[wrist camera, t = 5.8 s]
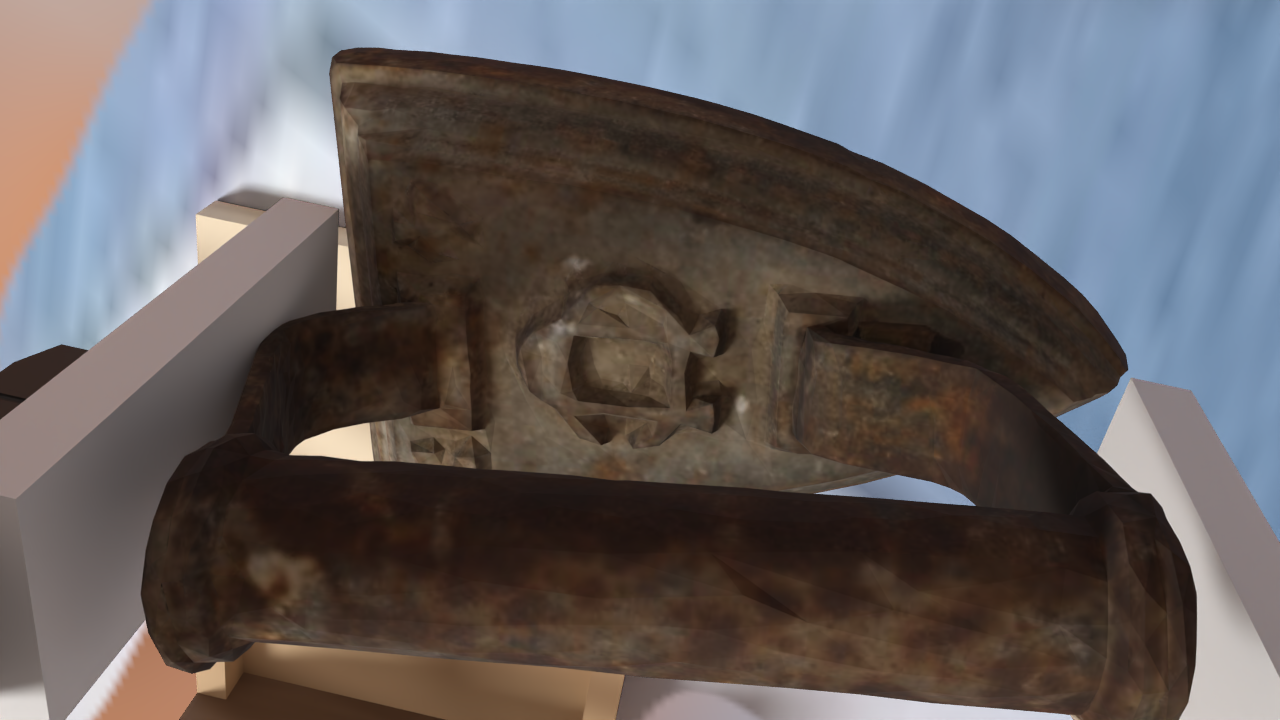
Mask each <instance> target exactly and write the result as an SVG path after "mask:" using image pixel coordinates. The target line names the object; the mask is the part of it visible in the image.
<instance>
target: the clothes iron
mask: <svg viewBox="0 0 1280 720" xmlns="http://www.w3.org/2000/svg"><path fill="white" fill-rule="evenodd" d="M329 75H330V84H331V93H332V102H333V111H334V120H335V130H336V139H337V148H338V157H339V167H340V176H341V185H342V195H343V204H344V214H345V223H346V232H347V240H348V249H349V257H350V266H351V275H352V283H353V292H354V300H355V307H354V308H348V309H341V310H334V311H327V312H320V313H316V314H312V315H309V316H305V317H301V318H298V319H294V320H291V321H288V322H286V323H284V324H282V325H281V326H279V327H278V328H276V329H275V330H274V331H273V332H271V333H270V334H269V335H268V336H267V337H266V338H265V339H264V340H263V341H262V342H261V343H260V345H259V348H258V350H257V352H256V354H255V357H254V360H253V363H252V366H251V369H250V371H249V374H248V377H247V380H246V383H245V385H244V388H243V391H242V394H241V397H240V400H239V403H238V406H237V408H236V411H235V414H234V417H233V420H232V423H231V425H230V427H229V429H228V430H227V432H226V434H225V435H224V436H223V437H221V438H219V439H218V440H216V441H209V442H208V443H207V444H205V445H204V446H202V447H201V448H199V449H198V450H196V451H194V452H192V453H190V454H188V455H186V456H184V458H183V459H182V461H181V462H180V464H179V465H178V467H177V468H176V470H175V471H174V473H173V474H172V476H171V477H170V479H169V480H168V482H167V483H166V486H165V489H164V492H163V494H162V497H161V500H160V502H159V505H158V508H157V510H156V513H155V516H154V519H153V522H152V526H151V530H150V534H149V538H148V542H147V546H146V551H145V560H144V568H143V577H142V585H141V594H140V595H141V600H142V604H143V609H144V614H145V619H146V624H147V628H148V633H149V635H150V637H151V639H152V640H153V642H154V644H155V646H156V648H157V649H158V651H159V653H160V655H161V657H162V659H163V660H164V662H165V664H166V665H167V666H170V667H173V668H176V669H179V670H182V671H185V672H188V673H191V674H193V673H197V672H201V671H205V670H209V669H211V668H212V667H213V666H214V665H215V664H216V662H234V661H235V660H236V659H237V658H239V657H240V656H241V655H242V654H244V653H245V652H246V651H247V650H249V649H250V648H251V647H252V645H253V644H254V643H255V642H260V643H272V644H284V645H296V646H308V647H320V648H333V649H344V650H355V651H366V652H376V653H387V654H398V655H408V656H419V657H429V658H441V659H453V660H466V661H478V662H491V663H505V664H518V665H531V666H545V667H557V668H566V669H575V670H584V671H593V672H602V673H611V674H621V675H630V676H639V677H652V678H666V679H679V680H692V681H706V682H719V683H731V684H744V685H757V686H770V687H783V688H795V689H806V690H817V691H828V692H840V693H851V694H861V695H869V696H878V697H886V698H895V699H903V700H911V701H920V702H928V703H939V704H951V705H963V706H976V707H988V708H1000V709H1012V710H1024V711H1035V712H1047V713H1058V714H1066V715H1071V717H1072V718H1073V720H1179V719H1180V717H1181V715H1182V713H1183V711H1184V710H1185V708H1186V706H1187V704H1188V702H1189V697H1190V692H1191V687H1192V682H1193V677H1194V672H1195V667H1196V649H1197V592H1196V588H1195V584H1194V579H1193V575H1192V571H1191V567H1190V564H1189V562H1188V559H1187V557H1186V555H1185V552H1184V550H1183V547H1182V545H1181V543H1180V541H1179V539H1178V537H1177V536H1176V534H1175V532H1174V531H1173V529H1172V527H1171V525H1170V524H1169V522H1168V520H1167V518H1166V516H1165V513H1164V510H1163V508H1162V506H1161V505H1160V504H1159V503H1158V501H1157V500H1156V499H1155V498H1154V497H1153V495H1152V494H1151V493H1143V492H1138V491H1136V490H1135V489H1133V488H1132V487H1131V486H1130V485H1129V484H1128V483H1127V482H1126V481H1125V480H1124V479H1123V478H1122V477H1121V476H1120V475H1119V474H1118V473H1117V472H1116V471H1115V470H1114V469H1113V468H1112V467H1111V466H1110V465H1109V464H1108V463H1107V462H1106V461H1105V460H1104V459H1103V458H1102V457H1100V456H1099V455H1098V454H1097V453H1096V452H1095V451H1093V450H1092V449H1091V448H1090V447H1089V446H1088V445H1087V444H1085V443H1084V442H1083V441H1082V440H1081V439H1080V438H1079V437H1078V436H1077V435H1075V434H1074V433H1073V432H1072V431H1071V430H1070V429H1069V428H1067V427H1066V426H1065V425H1064V424H1063V423H1062V422H1061V421H1059V420H1058V419H1057V418H1056V417H1058V416H1060V415H1062V414H1064V413H1066V412H1069V411H1071V410H1073V409H1075V408H1078V407H1080V406H1082V405H1084V404H1086V403H1089V402H1091V401H1093V400H1095V399H1097V398H1100V397H1101V396H1103V395H1105V394H1107V393H1109V392H1110V391H1111V390H1112V389H1114V388H1115V387H1116V386H1117V385H1118V382H1119V379H1120V377H1121V376H1122V375H1123V374H1124V373H1125V372H1126V371H1127V370H1128V365H1127V359H1126V354H1125V353H1124V351H1123V349H1122V348H1121V346H1120V344H1119V343H1118V341H1117V339H1116V338H1115V336H1114V335H1113V334H1112V332H1111V331H1110V329H1109V328H1108V326H1107V325H1106V323H1105V322H1104V320H1103V319H1102V318H1101V316H1100V315H1099V313H1098V312H1097V311H1096V309H1095V308H1094V307H1093V306H1092V305H1091V304H1090V303H1089V301H1088V300H1087V299H1086V298H1085V297H1084V296H1083V295H1082V294H1081V293H1080V292H1079V291H1078V290H1077V289H1076V288H1075V287H1074V286H1073V285H1071V284H1070V283H1069V282H1068V281H1067V280H1066V279H1065V278H1064V277H1062V276H1061V275H1060V274H1059V273H1057V272H1056V271H1055V270H1054V269H1053V268H1051V267H1050V266H1049V265H1048V264H1046V263H1045V262H1044V261H1043V260H1041V259H1040V258H1039V257H1038V256H1037V255H1035V254H1034V253H1033V252H1031V251H1030V250H1029V249H1028V248H1026V247H1025V246H1024V245H1023V244H1021V243H1020V242H1019V241H1017V240H1016V239H1015V238H1014V237H1012V236H1011V235H1010V234H1008V233H1007V232H1005V231H1004V230H1002V229H1001V228H999V227H998V226H996V225H995V224H993V223H992V222H990V221H989V220H987V219H985V218H984V217H982V216H980V215H978V214H977V213H975V212H973V211H971V210H970V209H968V208H966V207H964V206H963V205H961V204H959V203H957V202H956V201H954V200H952V199H950V198H949V197H947V196H945V195H943V194H942V193H940V192H938V191H936V190H935V189H933V188H931V187H929V186H928V185H926V184H924V183H922V182H920V181H918V180H916V179H914V178H912V177H910V176H908V175H906V174H904V173H902V172H899V171H897V170H895V169H893V168H891V167H889V166H887V165H885V164H883V163H881V162H878V161H875V160H873V159H870V158H867V157H865V156H862V155H859V154H857V153H854V152H852V151H850V150H848V149H846V148H844V147H843V146H841V145H839V144H837V143H834V142H831V141H828V140H825V139H823V138H820V137H817V136H814V135H811V134H809V133H806V132H803V131H800V130H797V129H795V128H792V127H789V126H786V125H783V124H780V123H777V122H774V121H771V120H769V119H766V118H763V117H760V116H757V115H754V114H750V113H747V112H744V111H740V110H737V109H733V108H730V107H727V106H723V105H720V104H716V103H712V102H709V101H705V100H701V99H697V98H693V97H689V96H685V95H681V94H676V93H672V92H668V91H664V90H659V89H655V88H651V87H646V86H641V85H637V84H632V83H627V82H622V81H617V80H612V79H607V78H602V77H597V76H592V75H587V74H582V73H576V72H571V71H566V70H560V69H554V68H547V67H541V66H534V65H526V64H519V63H511V62H505V61H498V60H492V59H485V58H478V57H470V56H460V55H451V54H443V53H435V52H425V51H407V50H393V49H385V48H353V49H347V50H341V51H339V52H338V53H337V54H336V55H335V56H333V57H332V61H331V67H330V73H329ZM364 423H369V424H370V434H371V443H372V451H373V459H374V461H357V460H349V459H342V458H334V457H326V456H307V455H289V454H290V453H291V452H292V451H293V450H294V448H295V447H296V446H297V445H299V444H300V443H301V442H303V441H304V440H306V439H309V438H312V437H315V436H317V435H320V434H323V433H326V432H329V431H331V430H334V429H339V428H344V427H349V426H354V425H359V424H364ZM894 475H901V476H906V477H911V478H916V479H921V480H926V481H931V482H934V483H937V484H940V485H943V486H946V487H949V488H951V489H953V490H955V491H957V492H959V493H961V494H963V495H964V496H966V497H967V498H968V499H969V500H970V501H971V502H973V503H974V504H975V505H976V506H967V505H954V504H940V503H928V502H916V501H904V500H893V499H881V498H866V497H852V496H838V495H824V494H814V493H819V492H824V491H829V490H834V489H839V488H844V487H849V486H854V485H859V484H863V483H867V482H871V481H875V480H879V479H883V478H886V477H890V476H894Z"/></svg>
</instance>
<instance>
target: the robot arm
mask: <svg viewBox="0 0 1280 720" xmlns="http://www.w3.org/2000/svg"><path fill="white" fill-rule="evenodd" d="M338 226H339V209H337V208H332V207H327V206H322V205H318V204H313V203H308V202H304V201H299V200H294V199H290V198H285V197H283V198H282V199H281V200H280V201H278V202H277V203H276V204H274V205H273V206H272V207H271V208H269V209H268V210H267V211H266V212H264V213H263V214H262V215H260V216H259V217H258V218H257V219H255V220H254V221H253V222H252V223H250V224H249V225H248V226H246V227H245V228H244V229H243V230H241V231H240V232H239V233H238V234H236V235H235V236H234V237H232V238H231V239H230V240H229V241H227V242H226V243H225V244H223V245H222V246H221V247H220V248H218V249H217V250H216V251H215V252H213V253H212V254H211V255H209V256H208V257H207V258H206V259H204V260H203V261H202V262H201V263H199V264H198V265H197V266H195V267H194V268H193V269H192V270H190V271H189V272H188V273H187V274H185V275H184V276H183V277H181V278H180V279H179V280H178V281H176V282H175V283H174V284H173V285H171V286H170V287H169V288H167V289H166V290H165V291H164V292H162V293H161V294H160V295H159V296H157V297H156V298H155V299H153V300H152V301H151V302H150V303H148V304H147V305H146V306H144V307H143V308H142V309H141V310H139V311H138V312H137V313H136V314H134V315H133V316H132V317H130V318H129V319H128V320H127V321H125V322H124V323H123V324H122V325H120V326H119V327H118V328H116V329H115V330H114V331H113V332H111V333H110V334H109V335H108V336H106V337H105V338H104V339H102V340H101V341H100V342H99V343H97V344H96V345H95V346H94V347H92V348H91V349H90V350H84V349H80V348H75V347H71V346H66V345H62V344H61V345H59V346H56V347H53V348H51V349H48V350H45V351H43V352H40V353H37V354H35V355H32V356H29V357H27V358H24V359H22V360H19V361H16V362H14V363H12V364H11V365H9V366H8V367H7V368H5V369H4V370H3V371H1V372H0V720H65V719H66V718H67V717H68V715H69V714H70V713H71V712H72V710H73V709H74V708H75V707H76V705H77V704H78V703H79V702H80V700H81V699H82V698H83V697H84V695H85V694H86V693H87V692H88V691H89V689H90V688H91V687H92V686H93V684H94V683H95V682H96V681H97V679H98V678H99V677H100V676H101V674H102V673H103V672H104V671H105V669H106V668H107V667H108V666H109V664H110V663H111V662H112V661H113V659H114V658H115V657H116V656H117V654H118V653H119V652H120V651H121V649H122V648H123V647H124V646H125V644H126V643H127V642H128V641H129V639H130V638H131V637H132V636H133V635H134V633H135V632H136V631H137V630H138V628H139V627H140V626H141V625H142V623H143V622H144V621H145V620H146V619H145V614H144V609H143V604H142V600H141V595H140V594H141V585H142V577H143V568H144V560H145V551H146V546H147V542H148V538H149V534H150V530H151V526H152V522H153V519H154V516H155V513H156V510H157V508H158V505H159V502H160V500H161V497H162V494H163V492H164V489H165V486H166V483H167V482H168V480H169V479H170V477H171V476H172V474H173V473H174V471H175V470H176V468H177V467H178V465H179V464H180V462H181V461H182V459H183V458H184V456H186V455H188V454H190V453H192V452H194V451H196V450H198V449H199V448H201V447H202V446H204V445H205V444H207V443H208V442H209V441H216V440H218V439H219V438H221V437H223V436H224V435H225V434H226V432H227V430H228V429H229V427H230V425H231V423H232V420H233V417H234V414H235V411H236V408H237V406H238V403H239V400H240V397H241V394H242V391H243V388H244V385H245V383H246V380H247V377H248V374H249V371H250V369H251V366H252V363H253V360H254V357H255V354H256V352H257V350H258V348H259V345H260V343H261V342H262V341H263V340H264V339H265V338H266V337H267V336H268V335H269V334H270V333H271V332H273V331H274V330H275V329H276V328H278V327H279V326H281V325H282V324H284V323H286V322H288V321H291V320H294V319H298V318H301V317H305V316H309V315H312V314H316V313H320V312H327V311H334V310H336V303H337V265H338ZM1097 454H1098V455H1099V456H1100V457H1102V458H1103V459H1104V460H1105V461H1106V462H1107V463H1108V464H1109V465H1110V466H1111V467H1112V468H1113V469H1114V470H1115V471H1116V472H1117V473H1118V474H1119V475H1120V476H1121V477H1122V478H1123V479H1124V480H1125V481H1126V482H1127V483H1128V484H1129V485H1130V486H1131V487H1132V488H1133V489H1135V490H1136V491H1138V492H1143V493H1151V494H1152V495H1153V497H1154V498H1155V499H1156V500H1157V501H1158V503H1159V504H1160V505H1161V506H1162V508H1163V510H1164V513H1165V516H1166V518H1167V520H1168V522H1169V524H1170V525H1171V527H1172V529H1173V531H1174V532H1175V534H1176V536H1177V537H1178V539H1179V541H1180V543H1181V545H1182V547H1183V550H1184V552H1185V555H1186V557H1187V559H1188V562H1189V564H1190V567H1191V571H1192V575H1193V579H1194V584H1195V588H1196V592H1197V649H1196V667H1195V672H1194V677H1193V682H1192V687H1191V692H1190V697H1189V702H1188V704H1187V706H1186V708H1185V710H1184V711H1183V713H1182V715H1181V717H1180V719H1179V720H1280V542H1279V541H1278V539H1277V537H1276V535H1275V534H1274V532H1273V530H1272V529H1271V527H1270V525H1269V523H1268V522H1267V520H1266V518H1265V517H1264V515H1263V513H1262V511H1261V510H1260V508H1259V506H1258V504H1257V503H1256V501H1255V499H1254V498H1253V496H1252V494H1251V492H1250V491H1249V489H1248V487H1247V486H1246V484H1245V482H1244V480H1243V479H1242V477H1241V475H1240V474H1239V472H1238V470H1237V468H1236V467H1235V465H1234V463H1233V462H1232V460H1231V458H1230V456H1229V455H1228V453H1227V451H1226V449H1225V448H1224V446H1223V444H1222V443H1221V441H1220V439H1219V437H1218V436H1217V434H1216V432H1215V431H1214V429H1213V427H1212V425H1211V424H1210V422H1209V420H1208V419H1207V417H1206V415H1205V413H1204V412H1203V410H1202V408H1201V407H1200V405H1199V403H1198V401H1197V400H1196V398H1195V396H1194V395H1193V393H1192V391H1191V390H1186V389H1181V388H1177V387H1172V386H1167V385H1163V384H1158V383H1153V382H1149V381H1144V380H1139V379H1135V378H1131V379H1130V381H1129V383H1128V386H1127V388H1126V390H1125V392H1124V395H1123V397H1122V399H1121V401H1120V403H1119V406H1118V408H1117V410H1116V412H1115V415H1114V417H1113V419H1112V421H1111V424H1110V426H1109V428H1108V430H1107V433H1106V435H1105V437H1104V439H1103V442H1102V444H1101V446H1100V448H1099V450H1098V453H1097Z"/></svg>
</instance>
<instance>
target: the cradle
mask: <svg viewBox="0 0 1280 720" xmlns="http://www.w3.org/2000/svg"><path fill="white" fill-rule="evenodd" d="M264 212H266V211H263V210H258V209H253V208H248V207H244V206H239V205H234V204H230V203H225V202H220V201H214V202H213V203H211V204H210V205H209V206H207V207H206V208H204V209H203V210H201V211H200V212H199V213H197V214H196V228H197V251H198V264H199V263H201V262H202V261H203V260H204V259H206V258H207V257H208V256H209V255H211V254H212V253H213V252H215V251H216V250H217V249H218V248H220V247H221V246H222V245H223V244H225V243H226V242H227V241H229V240H230V239H231V238H232V237H234V236H235V235H236V234H238V233H239V232H240V231H241V230H243V229H244V228H245V227H246V226H248V225H249V224H250V223H252V222H253V221H254V220H255V219H257V218H258V217H259V216H260V215H262V214H263V213H264ZM354 307H355V300H354V292H353V283H352V275H351V266H350V257H349V249H348V240H347V232H346V228H343V227H338V265H337V303H336V310H341V309H348V308H354ZM289 455H307V456H326V457H334V458H342V459H349V460H357V461H374V459H373V451H372V443H371V434H370V424H369V423H364V424H359V425H354V426H349V427H344V428H339V429H334V430H331V431H329V432H326V433H323V434H320V435H317V436H315V437H312V438H309V439H306V440H304V441H303V442H301V443H300V444H299V445H297V446H296V447H295V448H294V450H293V451H292V452H291V453H290V454H289ZM196 678H197V694H196V696H195V697H194V698H193V700H192V701H191V703H190V704H189V706H188V707H187V709H186V710H185V712H184V713H183V715H182V716H181V718H180V719H179V720H616V716H617V711H618V706H619V701H620V697H621V692H622V687H623V682H624V678H625V675H621V674H611V673H602V672H593V671H584V670H575V669H566V668H557V667H545V666H531V665H518V664H505V663H491V662H478V661H466V660H453V659H441V658H429V657H419V656H408V655H398V654H387V653H376V652H366V651H355V650H344V649H333V648H320V647H308V646H296V645H284V644H272V643H260V642H255V643H254V644H253V645H252V647H251V648H250V649H249V650H247V651H246V652H245V653H244V654H242V655H241V656H240V657H239V658H237V659H236V660H235V661H234V662H216V664H215V665H214V666H213V667H212V668H211V669H209V670H205V671H201V672H197V673H196Z"/></svg>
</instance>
